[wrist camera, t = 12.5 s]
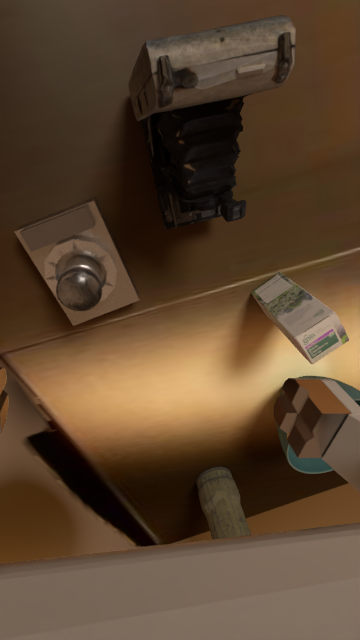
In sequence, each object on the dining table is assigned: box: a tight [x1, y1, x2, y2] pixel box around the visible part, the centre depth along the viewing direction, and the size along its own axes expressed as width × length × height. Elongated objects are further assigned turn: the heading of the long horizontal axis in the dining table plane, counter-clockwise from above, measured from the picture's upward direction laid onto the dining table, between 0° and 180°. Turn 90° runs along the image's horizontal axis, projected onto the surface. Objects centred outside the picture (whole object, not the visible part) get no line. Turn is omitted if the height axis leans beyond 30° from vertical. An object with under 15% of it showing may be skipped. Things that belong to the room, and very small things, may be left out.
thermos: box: [196, 467, 251, 540], centre depth 57 cm, size 9×12×35 cm
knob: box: [56, 256, 102, 311], centre depth 37 cm, size 5×5×6 cm
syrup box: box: [251, 272, 349, 364], centre depth 44 cm, size 6×6×14 cm
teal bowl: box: [277, 376, 360, 474], centre depth 57 cm, size 18×18×12 cm
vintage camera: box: [129, 15, 296, 229], centre depth 29 cm, size 10×16×20 cm, turn 11°
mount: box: [15, 197, 139, 326], centre depth 39 cm, size 14×10×5 cm
